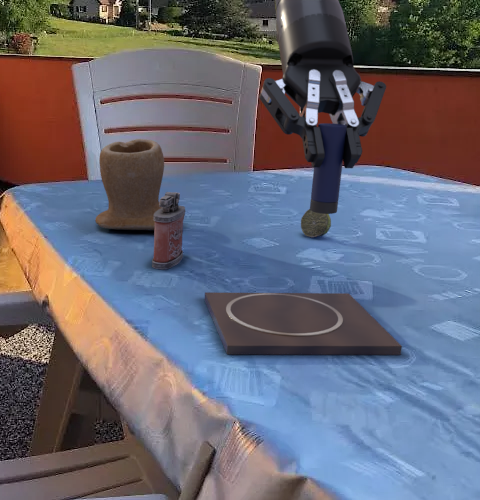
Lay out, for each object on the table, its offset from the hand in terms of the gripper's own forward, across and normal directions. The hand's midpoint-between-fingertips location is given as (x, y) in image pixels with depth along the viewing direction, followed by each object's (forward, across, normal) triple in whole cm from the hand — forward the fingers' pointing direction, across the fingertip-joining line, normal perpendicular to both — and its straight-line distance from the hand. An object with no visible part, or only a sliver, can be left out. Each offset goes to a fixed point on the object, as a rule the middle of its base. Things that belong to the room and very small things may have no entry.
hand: (335, 162), depth 71 cm
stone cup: (-18, -16, +46) cm, 52 cm away
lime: (-16, +13, +44) cm, 48 cm away
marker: (+2, 0, +5) cm, 6 cm away
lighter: (-6, -13, +33) cm, 36 cm away
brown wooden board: (+11, -2, +16) cm, 19 cm away
